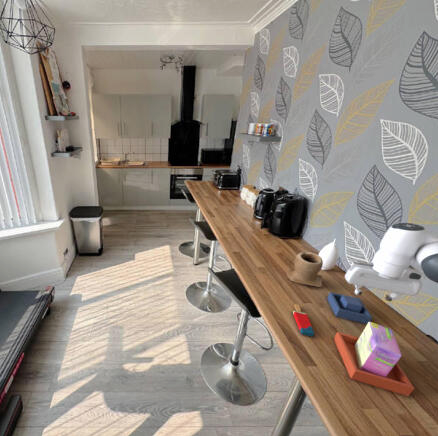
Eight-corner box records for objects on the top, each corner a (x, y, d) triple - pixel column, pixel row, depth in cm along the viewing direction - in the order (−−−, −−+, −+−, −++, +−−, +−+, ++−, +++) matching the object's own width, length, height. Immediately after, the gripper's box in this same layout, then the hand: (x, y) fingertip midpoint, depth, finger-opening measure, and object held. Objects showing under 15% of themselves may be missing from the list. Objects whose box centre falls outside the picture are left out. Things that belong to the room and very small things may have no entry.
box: (383, 382, 69) (402, 355, 64) (358, 371, 72) (375, 344, 67) (375, 355, 77) (392, 329, 72) (353, 346, 80) (368, 320, 75)
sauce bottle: (328, 266, 125) (340, 236, 117) (335, 274, 118) (348, 243, 110) (311, 263, 126) (323, 234, 119) (317, 272, 119) (330, 241, 112)
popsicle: (303, 304, 96) (315, 334, 83) (302, 307, 96) (314, 337, 83) (290, 302, 97) (301, 331, 84) (289, 304, 98) (300, 333, 84)
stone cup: (288, 285, 109) (297, 257, 103) (284, 270, 119) (293, 245, 113) (326, 294, 104) (338, 266, 98) (319, 278, 114) (330, 252, 108)
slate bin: (356, 305, 99) (359, 298, 97) (368, 324, 89) (372, 317, 88) (327, 298, 102) (329, 292, 100) (335, 316, 93) (339, 309, 91)
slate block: (352, 307, 97) (356, 297, 95) (357, 316, 92) (362, 306, 90) (337, 303, 98) (342, 294, 96) (342, 312, 94) (347, 303, 92)
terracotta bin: (381, 351, 79) (385, 344, 77) (408, 396, 66) (414, 388, 65) (333, 338, 83) (337, 331, 81) (350, 378, 70) (355, 370, 69)
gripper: (356, 264, 83) (342, 295, 89) (431, 277, 77) (412, 310, 82) (349, 255, 89) (336, 285, 94) (419, 267, 82) (401, 298, 88)
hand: (372, 297), depth 88 cm, fingers open, 8 cm apart
